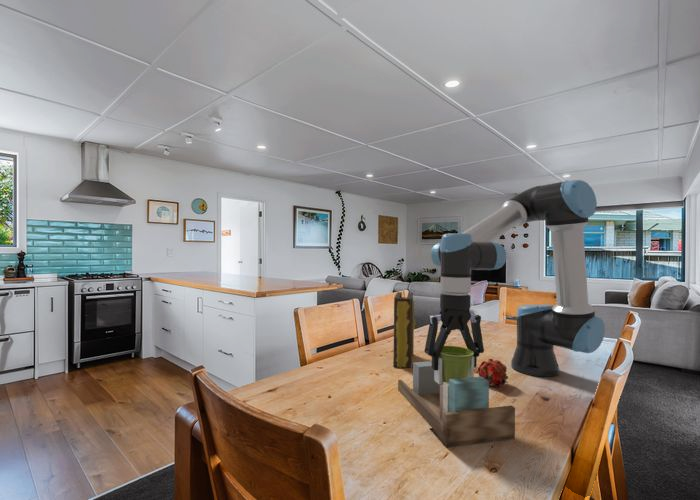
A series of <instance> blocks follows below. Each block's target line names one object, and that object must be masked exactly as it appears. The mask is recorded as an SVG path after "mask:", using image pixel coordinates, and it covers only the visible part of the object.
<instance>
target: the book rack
mask: <svg viewBox="0 0 700 500" xmlns="http://www.w3.org/2000/svg"><path fill="white" fill-rule="evenodd" d="M397 390H398V392H399V393H400V394H401V395H402V396H403V397H404V398H405V400H406V401H407V402H408V403H409V404H410V405H411V407H413V408H414V410H415V411H416V412H417V413H418V414H419V415H420V416H421V417H422V419H424V421H425V422H426V423H427V424H428V425H429V426H430V427H431V428H429V427H428V428H429V430H430V431H431V432H432V434H433V435H435V437H436V438H437V439H438V440H439V442H441V444H442V445H443V446H444V447H445V448H452V447H461V446H468V445H476V444H483V443H494V442H500V441H508V440H515V438H516V407H514V406H513V405H504V406H493V407H490V386H489V381H488V380H487V379H485V378H483V377H479V376H474V377H470V378H458V379H449V382H443V385H440V393H434V394H423V395H418V394H417V393H416V392H415V391H414V390H413V388H410V386H408V384H407V383H406V382H404V380H402V379H398V380H397Z"/></svg>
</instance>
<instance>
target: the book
mask: <svg viewBox="0 0 700 500" xmlns="http://www.w3.org/2000/svg"><path fill="white" fill-rule="evenodd" d="M402 292H403V291H402ZM402 292H401V291H397V292H396V294H395V295H394V298H393V366H392V367H393V368H394V369H412V364H413V362H412V361H413V357H414V349H415V348H414V344H415V343H414V342H415V341H414V339H415V338H414V334H415V331H414V329H415V327H416V320H415V301H414V292H408V293H407V296H403V293H402Z"/></svg>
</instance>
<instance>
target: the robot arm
mask: <svg viewBox="0 0 700 500" xmlns="http://www.w3.org/2000/svg"><path fill="white" fill-rule="evenodd" d="M596 209H597V196H596V194H595V192H594V189H593V188H592V187H591V186H590V184H588V182H586V181H584V180H581V179H576V180H575V179H573V180H566V181H565V180H563V181H560V182H555V183H548V184H544V185H543V184H542V185H536V186H532V187H530V188H528V189H526V190H523V191H521V192H520V193H518V194H516V195H514V196H513V197H511V198H509V199H508V200H506V201H505V202H504V203H503V204H502V205H501V207H500V208H499V209H498V210H496V211H495V212H493V213H491V214H490V215H488V216H486V217H485V218H483V219H482V220H481V221H479V222H477V223H476V224H474V225H473V226H471V227H469V228H468V229H466V230H465V231H463V232H462V233H459V232H458V233H456V232H455V233H453V232H452V233H444V234H442V237H441V240H440V242H438V243H436V244H435V245H433V247H432V248H431V250H430V258H431V260H432V264H434V265H435V266H437V267H440V286H439V287H440V289H439V290H440V291H441V293H440V295H439V307H440V311H439V314H437V315H431V314H430V315H428V323H429V326H428V330H427V335H426V341H425V346H424V353H425V354H426V355H428V356H429V357H431V361H432V369H433V370H434V381H436V382H437V383H438V384H442V358H441V357H439V356H440V354H441V352H442V349H443V347H444V346H445V345H446V342H447V339H448V338H449V335H450V334H451V333H452V331H455V330H458V331H460V334H461V336H462V339H463V342H464V344H465V347H466V348H467V349H470V350H471V351H473V352H474V355H473V356H472V358H471V361H470V365H469V371H468V377H467V378H470V377H475V368H477V363H478V361H477V360H478V359H477V358H478V357H480V354H483V353H484V352H485V347H484V342H483V341H484V340H483V336H482V335H483V334H482V329H481V320H482V316H481V315H480V314H476V313H473V314H472V313H471V311H470V309H471V301H472V300H471V295H470V293H471V292H472V287H471V286H472V282H471V281H472V278H471V277H472V271H473V270H474V271H475V270H476V271H481V270H482V271H492V270H493V271H494V270H499V269H501V268H503V266H505V264H506V261H507V251H506V249H505V247H504V246H503V245H502V244H500V243H498V242H494V241H495V240H497V239H499V238H500V237H502V236H503V235H504V234H506V233H507V232H509V231H510V230H512V229H514V228H518V227H521V226H523V225H524V224H526V223H530V222H536V221H537V222H538V221H545V227H546V228H547V229H549V230H550V232H551V240H552V241H551V244H552V254H553V255H552V256H553V269H554V270H553V271H554V282H555V283H554V284H555V294H556V295H555V296H556V297H555V298H556V304H554V305H551V304H527V305H520V306H518V307H517V311H516V312H517V313H516V314H517V315H516V317H515V318H516V346H515V349H514V353H513V357H511V361H510V363H511V364H510V365H511V366H510V367H511V368H512V369H513V370H514V371H517V372H519V373H522V374H526V375H528V376H529V375H530V376H534V377H545V378H546V377H547V378H548V377H555V376H558V375H559V374H560V365H559V363H558V361H557V358H556V354H555V350H554V346H555V347H559V348H563V349H567V350H570V351H573V352H576V353H577V352H579V353H584V354H591V353H594V352H596V351H598V349H599V347H600V346H601V344H602V343H603V340H604V337H605V333H606V323H605V322H604V320H603V319H602V318H600V317H599V316H596V313H595V312H596V311H595V308H594V307H593V306H592V305H590V304H589V293H588V280H587V279H588V278H587V266H586V253H585V236H584V228H585V227H586V226H588V224H589V218H591V217H592V216H593V215H595V213H596ZM440 321H441V325H440V328H439V324H440ZM469 321H470V326H471V332H470V327H469V325H468V323H469ZM438 328H439V331H438ZM438 332H439V333H438ZM471 333H472V335H471Z"/></svg>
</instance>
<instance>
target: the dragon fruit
mask: <svg viewBox="0 0 700 500" xmlns="http://www.w3.org/2000/svg"><path fill="white" fill-rule="evenodd" d="M507 370H508V369H507V366H506V365H505V364H503V363H502V361H501V360H498V359H495V360H493V358H488V361H485V360H484V361H482V362H481V363H480V364H479V366H478V368H477V373H478V377H483V378H485V379H487V380H488V381H489V387H498V388H500V387H502V386H503V385H505V384H506V383H507V380H508V379H509V376H508V375H507Z"/></svg>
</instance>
